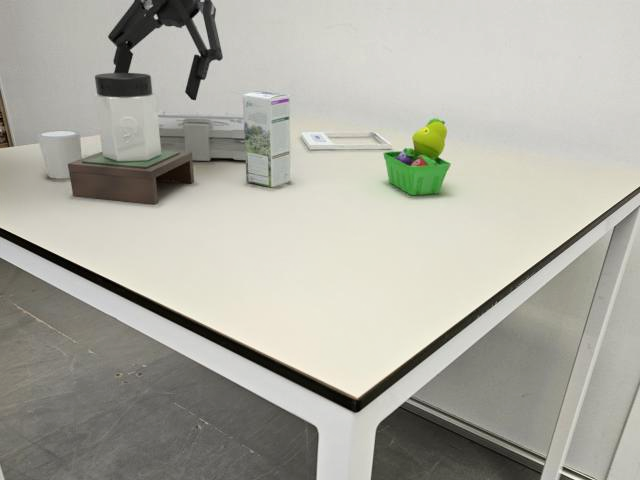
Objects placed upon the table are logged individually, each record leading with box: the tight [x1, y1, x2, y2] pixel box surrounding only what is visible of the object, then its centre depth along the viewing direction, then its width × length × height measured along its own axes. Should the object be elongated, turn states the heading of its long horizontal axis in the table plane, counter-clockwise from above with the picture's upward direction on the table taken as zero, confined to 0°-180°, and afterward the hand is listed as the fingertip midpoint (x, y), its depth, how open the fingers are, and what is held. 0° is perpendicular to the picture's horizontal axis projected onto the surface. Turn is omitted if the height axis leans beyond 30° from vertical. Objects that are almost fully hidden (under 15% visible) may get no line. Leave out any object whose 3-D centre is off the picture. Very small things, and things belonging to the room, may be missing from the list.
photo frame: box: [300, 131, 393, 151], centre depth 136 cm, size 15×1×18 cm
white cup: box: [36, 129, 83, 180], centre depth 104 cm, size 7×7×7 cm
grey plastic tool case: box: [157, 110, 246, 162], centre depth 123 cm, size 19×28×8 cm
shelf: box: [68, 150, 195, 205], centre depth 97 cm, size 14×14×5 cm
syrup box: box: [242, 90, 292, 188], centre depth 101 cm, size 6×6×14 cm
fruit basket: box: [383, 117, 452, 196], centre depth 101 cm, size 11×9×11 cm
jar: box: [93, 72, 161, 162], centre depth 93 cm, size 9×8×12 cm
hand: (153, 91), depth 101 cm, fingers open, 13 cm apart
